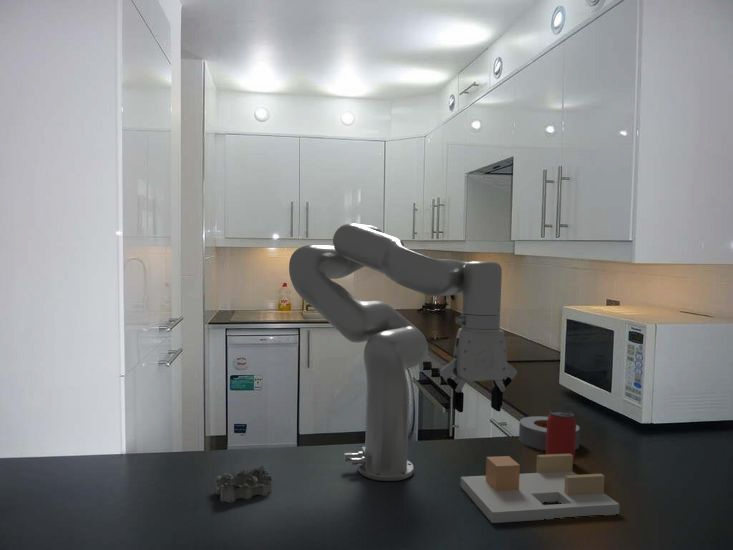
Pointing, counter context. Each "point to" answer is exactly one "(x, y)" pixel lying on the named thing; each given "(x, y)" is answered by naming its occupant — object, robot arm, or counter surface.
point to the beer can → (561, 433)
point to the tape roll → (538, 432)
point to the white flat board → (543, 493)
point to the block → (502, 473)
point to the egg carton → (243, 484)
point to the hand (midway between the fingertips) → (477, 409)
